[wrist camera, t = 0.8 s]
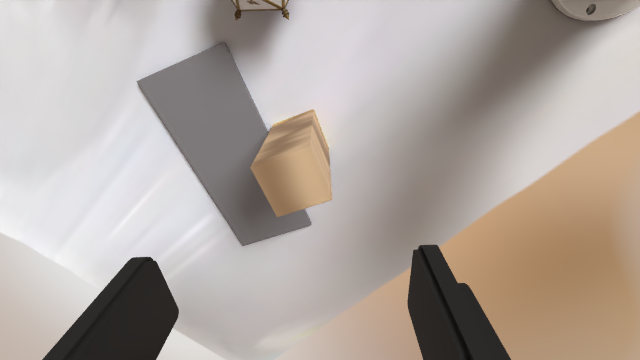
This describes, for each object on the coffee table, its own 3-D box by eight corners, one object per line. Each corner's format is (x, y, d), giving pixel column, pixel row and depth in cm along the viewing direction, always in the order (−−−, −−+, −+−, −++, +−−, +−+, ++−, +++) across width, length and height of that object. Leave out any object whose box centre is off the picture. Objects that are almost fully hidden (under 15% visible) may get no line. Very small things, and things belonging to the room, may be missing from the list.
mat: (225, 42, 28) (223, 42, 28) (311, 222, 38) (311, 225, 38) (139, 80, 30) (136, 81, 29) (244, 243, 40) (243, 245, 40)
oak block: (313, 109, 31) (310, 146, 21) (328, 148, 33) (332, 199, 23) (273, 124, 32) (250, 167, 21) (290, 161, 34) (277, 217, 24)
